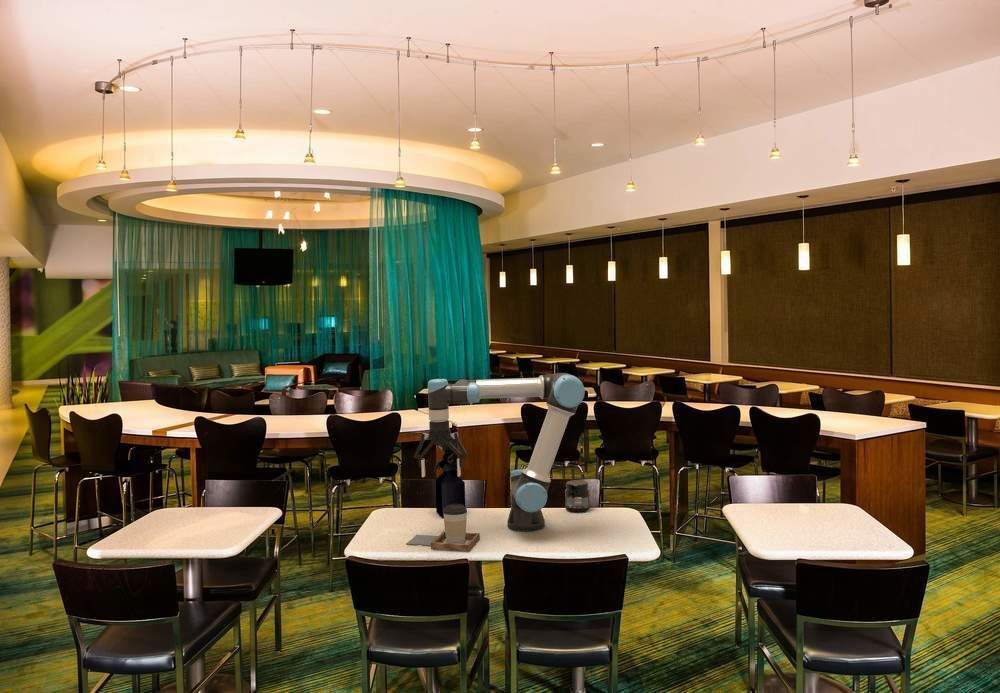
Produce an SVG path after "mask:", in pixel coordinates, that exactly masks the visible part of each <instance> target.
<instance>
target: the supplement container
mask: <svg viewBox="0 0 1000 693" xmlns="http://www.w3.org/2000/svg"><path fill="white" fill-rule="evenodd" d="M565 488H566V489H565V490H564V493H565V494H564V495H565V507H564V508H565V510H566V511H567V512H569V513H572V514H573V513H575V514H580V513H586V512H588V511H590V489H589V482H588V481H586V480H581V479H580V480H579V479H575V480H569V481H567V482H565Z"/></svg>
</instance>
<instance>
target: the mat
mask: <svg viewBox="0 0 1000 693" xmlns="http://www.w3.org/2000/svg"><path fill="white" fill-rule="evenodd" d="M438 536H439V535H429V534H416V535H414V536H413V537H412V538H411V539H409V540H408V541H407V542H406V543H405V545H406V544H407V545H406V546H417V545H422V546H421V547H431V543H432V542H433V541H434V540H435V539H436V538H437V537H438ZM408 544H409V545H408Z"/></svg>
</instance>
